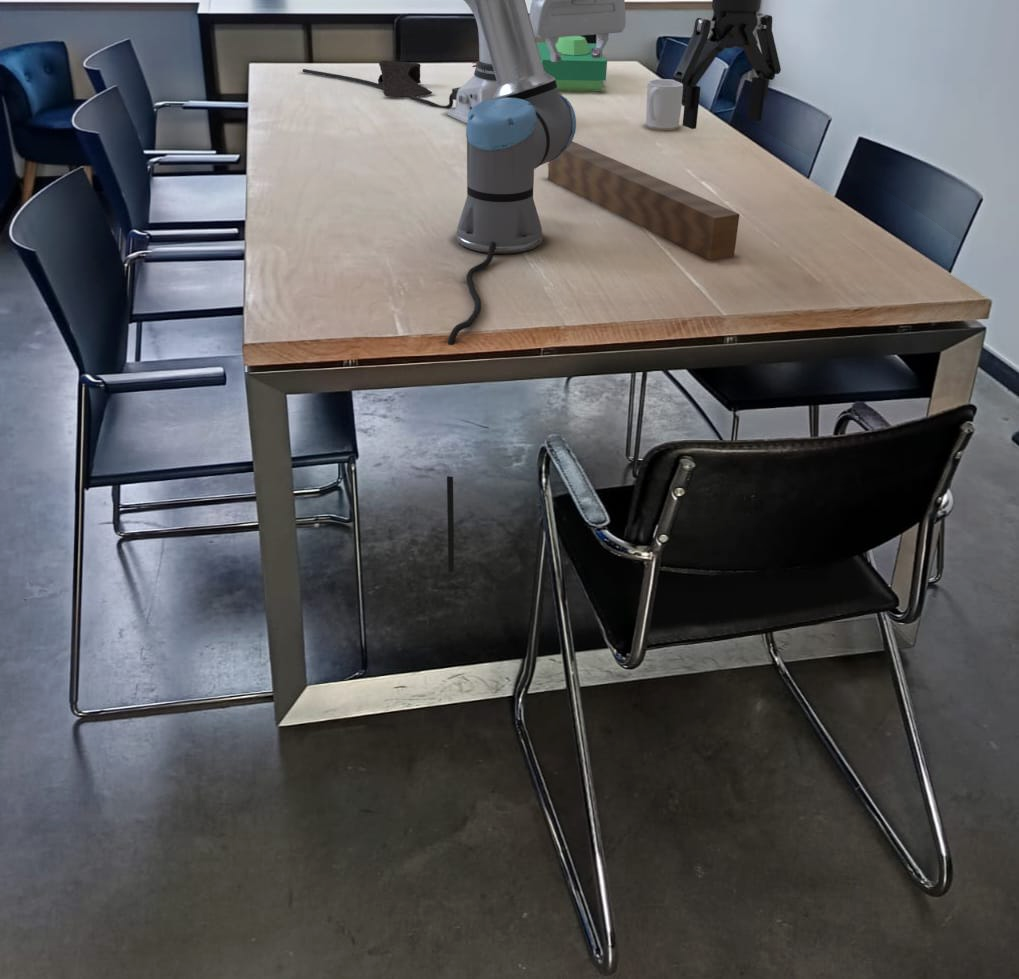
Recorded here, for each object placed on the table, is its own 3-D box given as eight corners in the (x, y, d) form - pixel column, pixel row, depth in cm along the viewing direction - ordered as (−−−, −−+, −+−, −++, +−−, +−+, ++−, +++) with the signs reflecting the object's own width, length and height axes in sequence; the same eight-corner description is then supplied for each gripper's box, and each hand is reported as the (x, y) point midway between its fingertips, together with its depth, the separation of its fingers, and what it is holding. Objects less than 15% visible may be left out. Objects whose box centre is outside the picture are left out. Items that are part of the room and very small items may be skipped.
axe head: (443, 87, 294) (392, 77, 287) (436, 115, 299) (385, 106, 292) (421, 62, 307) (371, 52, 300) (414, 89, 311) (365, 80, 304)
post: (734, 255, 191) (739, 213, 187) (709, 260, 189) (714, 218, 185) (569, 176, 232) (571, 140, 228) (547, 179, 230) (549, 143, 226)
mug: (656, 120, 276) (660, 77, 271) (687, 126, 272) (691, 82, 266) (632, 127, 269) (635, 84, 264) (663, 134, 264) (667, 89, 259)
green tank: (593, 25, 326) (608, 46, 296) (591, 69, 332) (604, 93, 302) (534, 24, 325) (543, 45, 295) (533, 67, 331) (541, 92, 301)
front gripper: (784, -23, 179) (765, 111, 190) (659, -17, 168) (647, 125, 179) (815, -18, 173) (794, 120, 184) (688, -10, 163) (674, 135, 174)
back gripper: (616, -22, 214) (611, 53, 221) (525, -18, 205) (523, 60, 213) (634, -18, 209) (629, 58, 217) (542, -13, 201) (540, 66, 208)
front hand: (722, 123), depth 182 cm, fingers open, 13 cm apart
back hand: (576, 59), depth 215 cm, fingers open, 8 cm apart
